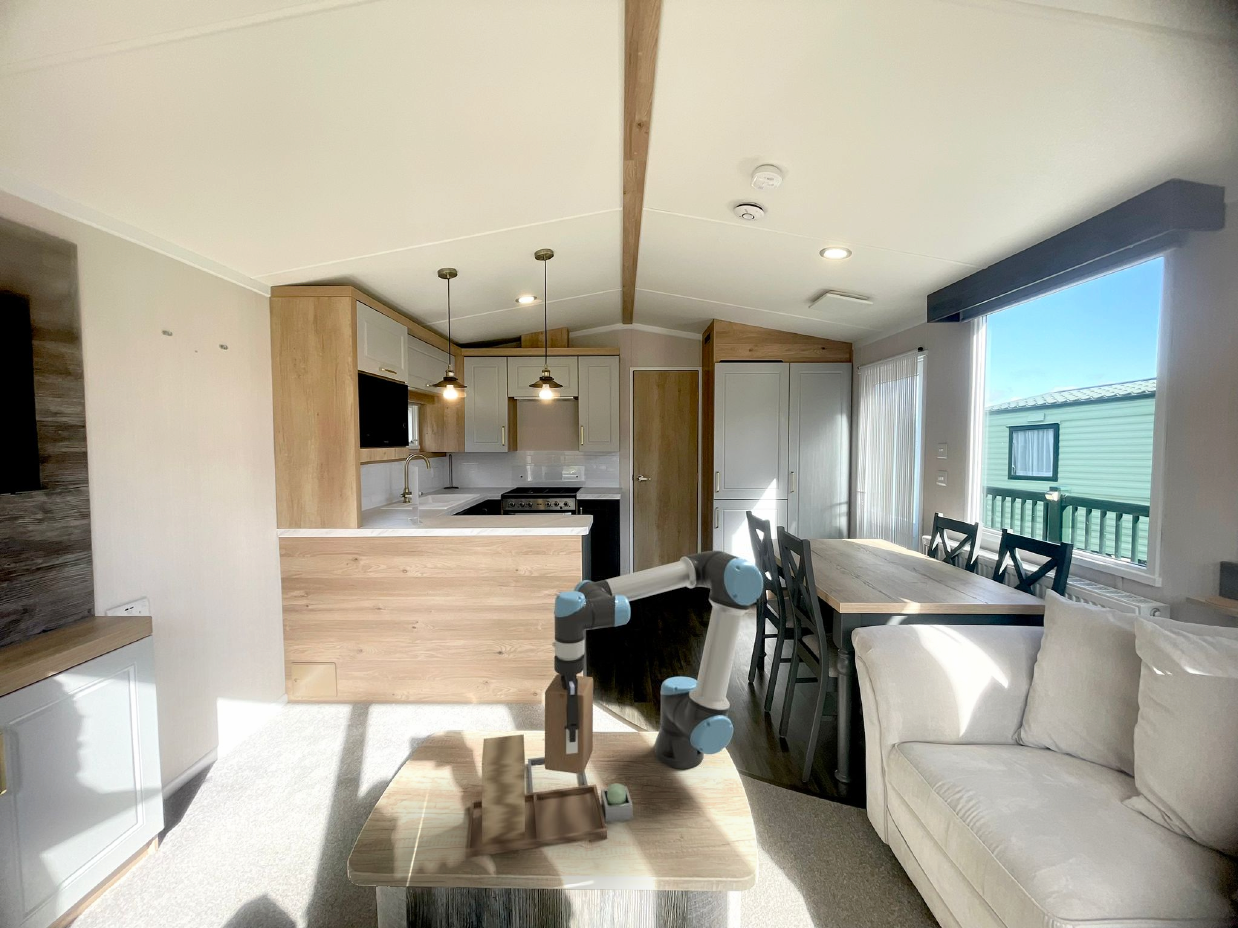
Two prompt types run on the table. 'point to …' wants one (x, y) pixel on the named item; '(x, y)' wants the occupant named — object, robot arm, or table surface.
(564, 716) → the wooden block
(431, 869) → the table surface
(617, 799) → the button
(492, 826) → the seated billet
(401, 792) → the table surface
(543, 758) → the tote frame
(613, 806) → the button housing
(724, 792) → the table surface
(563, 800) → the divided wooden tray
